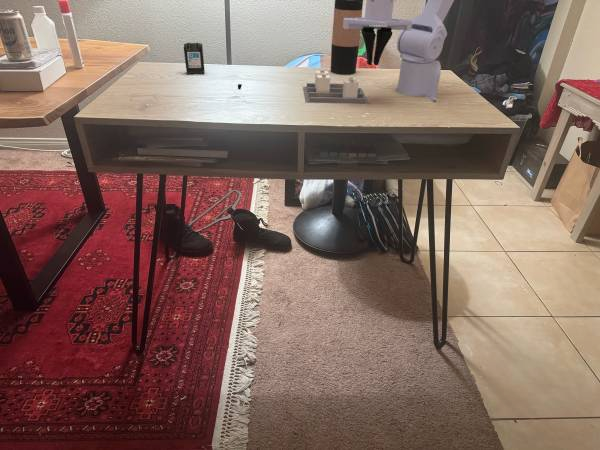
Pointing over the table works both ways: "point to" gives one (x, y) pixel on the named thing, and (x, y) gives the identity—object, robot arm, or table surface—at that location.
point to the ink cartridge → (194, 58)
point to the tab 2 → (350, 88)
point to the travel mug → (345, 37)
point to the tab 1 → (320, 74)
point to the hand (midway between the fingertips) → (372, 64)
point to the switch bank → (332, 95)
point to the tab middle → (323, 83)
